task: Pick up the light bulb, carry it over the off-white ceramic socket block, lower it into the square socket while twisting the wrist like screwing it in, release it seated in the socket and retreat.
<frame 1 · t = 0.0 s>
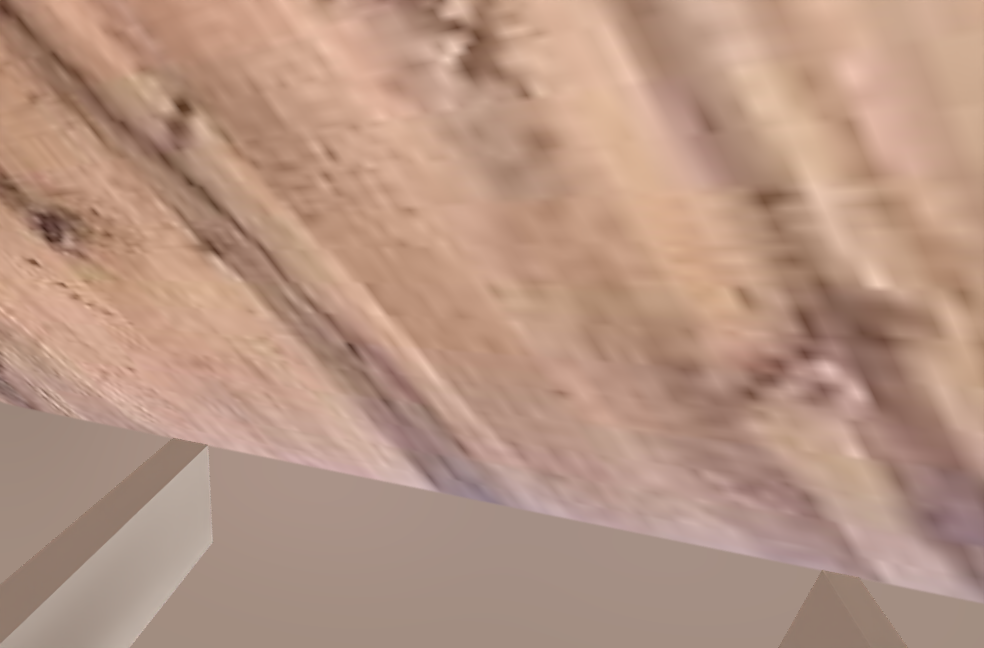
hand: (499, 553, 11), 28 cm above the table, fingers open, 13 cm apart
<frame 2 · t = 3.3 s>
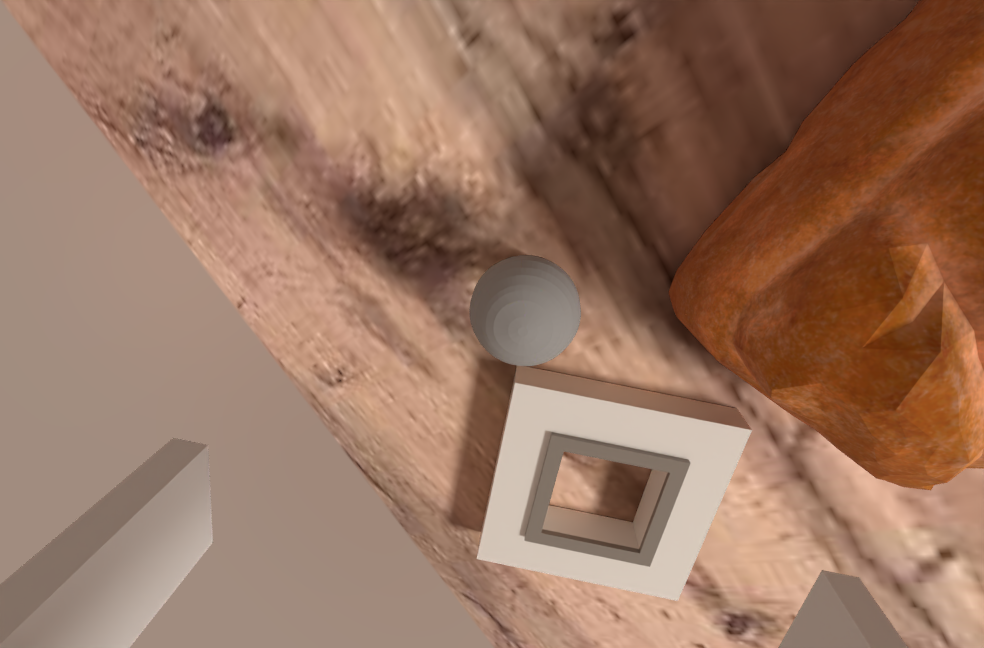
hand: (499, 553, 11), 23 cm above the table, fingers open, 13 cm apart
bread: (893, 180, 28), on the table
light bulb: (528, 270, 32), on the table
socket block: (598, 475, 37), on the table
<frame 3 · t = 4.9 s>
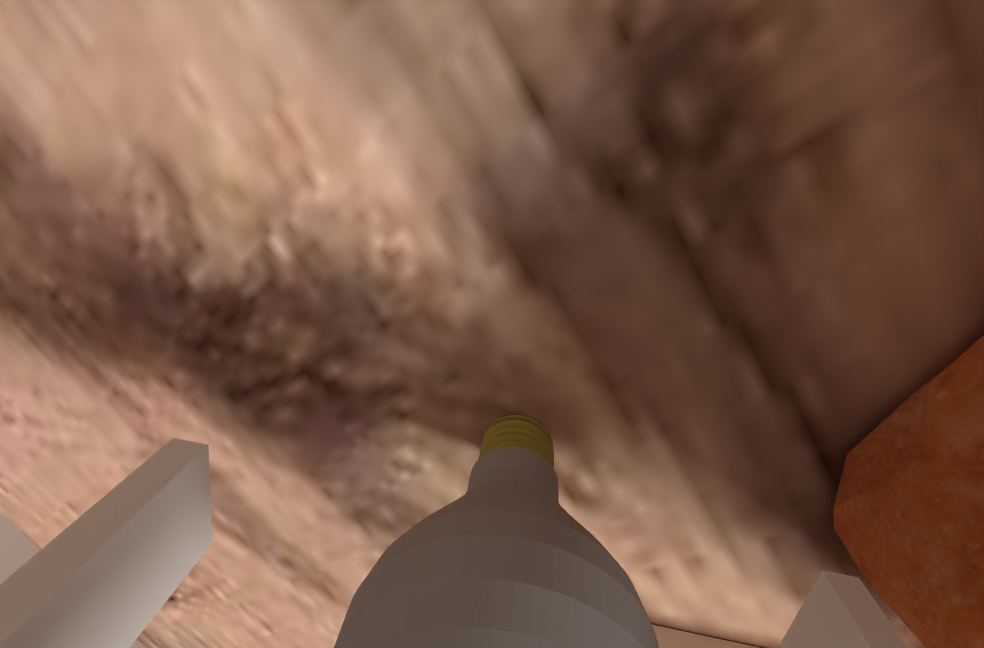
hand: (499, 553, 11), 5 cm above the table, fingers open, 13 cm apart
light bulb: (518, 429, 15), on the table
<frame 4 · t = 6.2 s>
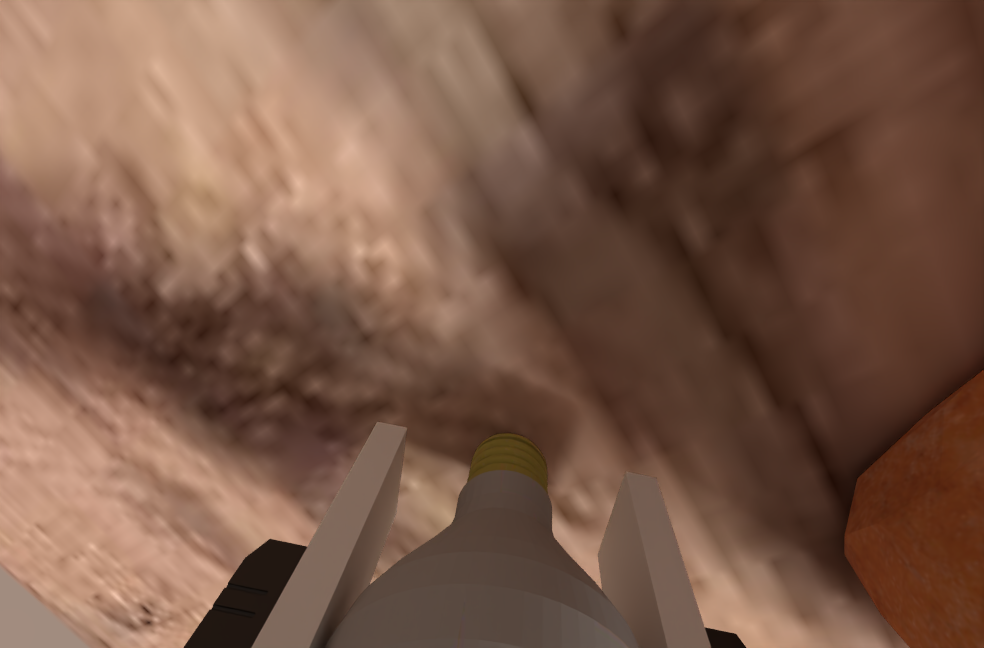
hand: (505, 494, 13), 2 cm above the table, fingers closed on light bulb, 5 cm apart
light bulb: (510, 447, 15), on the table, touching gripper
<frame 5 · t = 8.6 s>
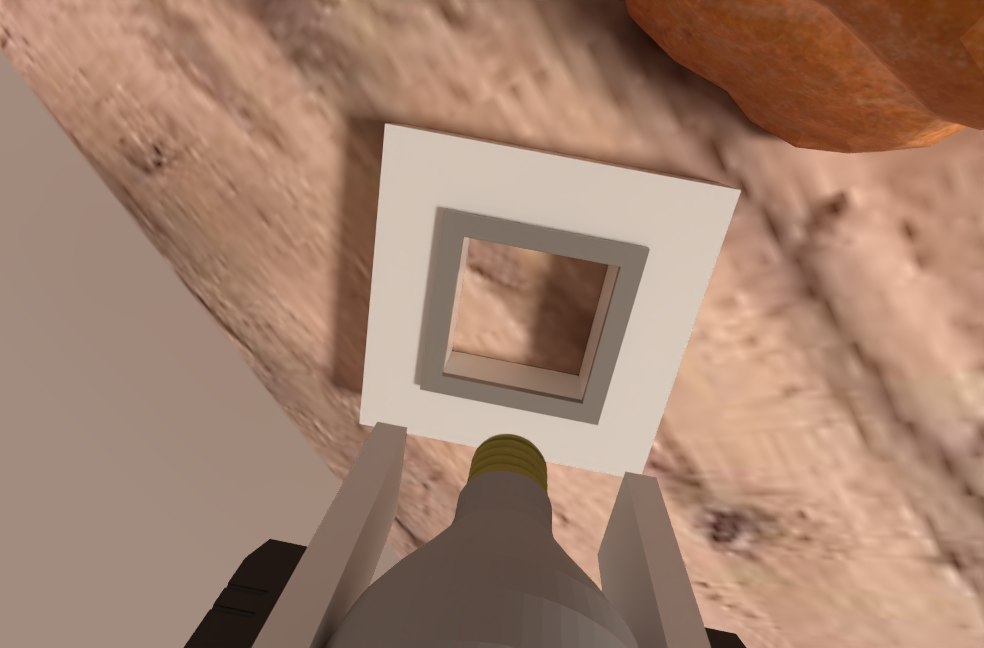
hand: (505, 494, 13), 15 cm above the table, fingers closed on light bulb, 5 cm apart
light bulb: (510, 448, 15), point 13 cm above the table, touching gripper
socket block: (527, 303, 26), on the table
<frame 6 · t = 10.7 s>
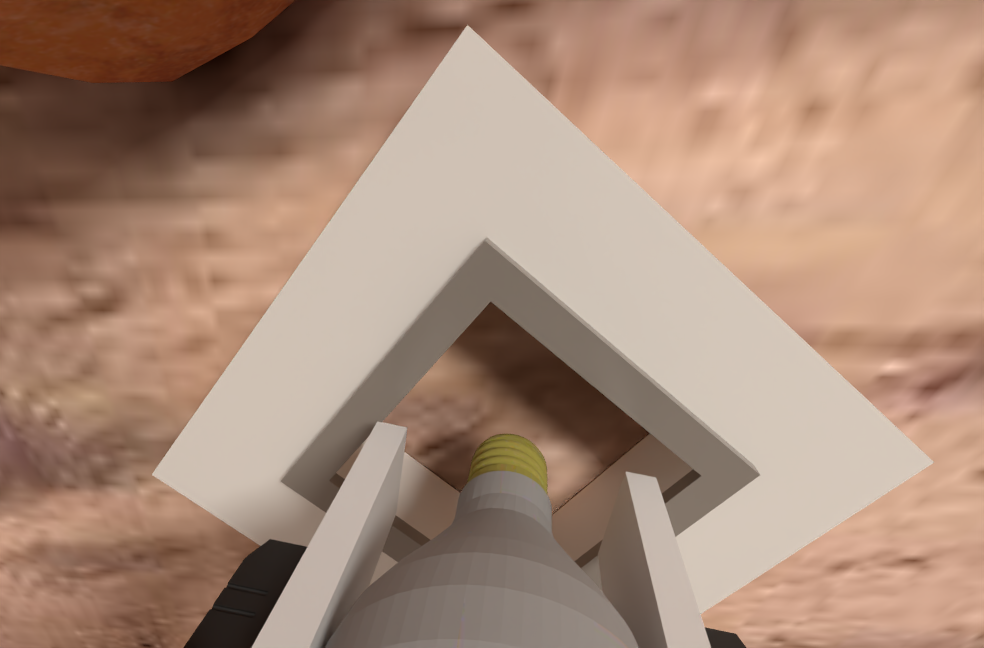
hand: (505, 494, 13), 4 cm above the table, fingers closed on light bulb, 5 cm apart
light bulb: (510, 447, 15), point 2 cm above the table, touching gripper
socket block: (513, 418, 16), on the table
when the fingers open (4 cm above the table, at t = 11.1 s): light bulb drops 2 cm, resting in socket block.
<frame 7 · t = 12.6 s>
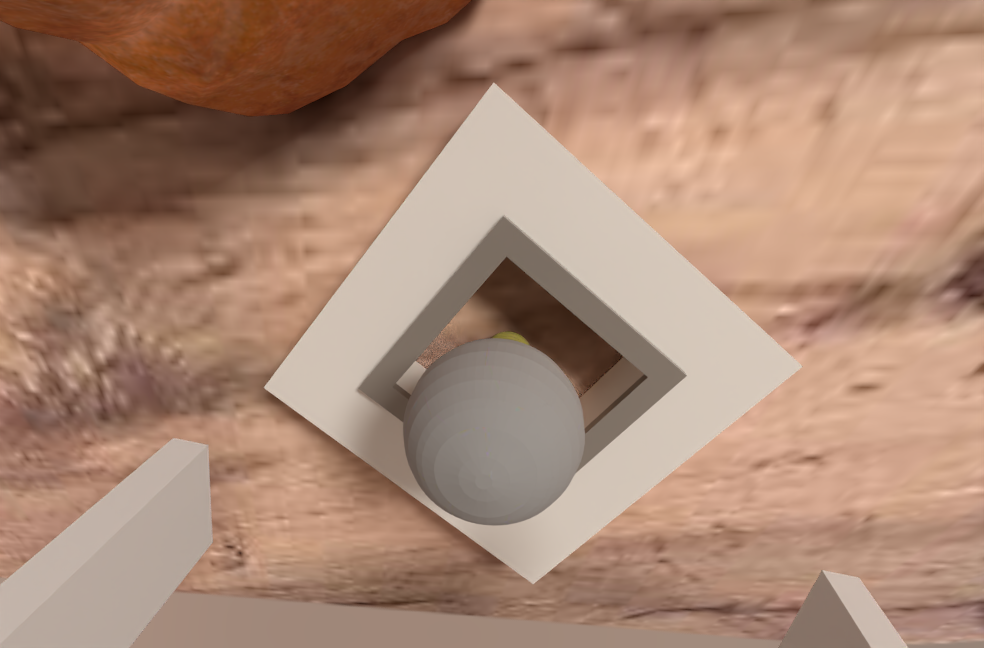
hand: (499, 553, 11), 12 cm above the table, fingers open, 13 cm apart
light bulb: (509, 347, 23), resting in socket block
socket block: (519, 351, 22), on the table
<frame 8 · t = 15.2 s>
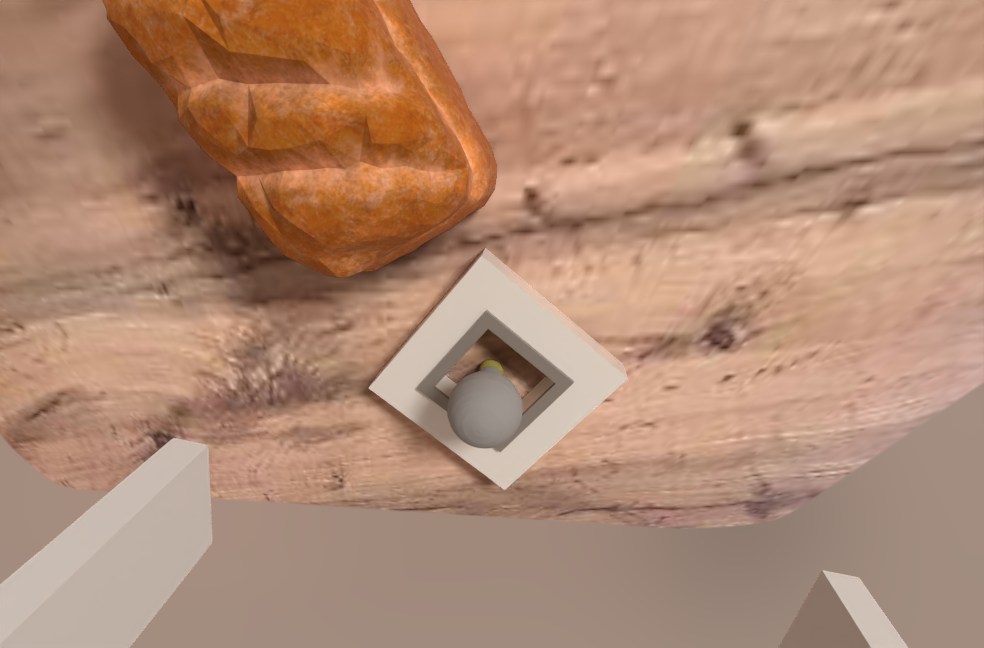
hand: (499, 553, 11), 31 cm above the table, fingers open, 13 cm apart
bread: (344, 70, 37), on the table
light bulb: (491, 366, 44), resting in socket block
socket block: (496, 369, 44), on the table
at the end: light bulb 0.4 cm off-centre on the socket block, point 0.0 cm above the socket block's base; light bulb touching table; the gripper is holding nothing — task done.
